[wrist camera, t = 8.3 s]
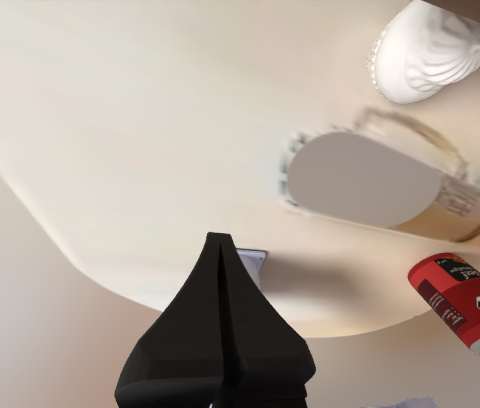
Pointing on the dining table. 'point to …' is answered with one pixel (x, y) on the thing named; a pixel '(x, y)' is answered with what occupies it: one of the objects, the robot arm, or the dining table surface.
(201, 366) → the robot arm
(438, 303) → the canned food
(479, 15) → the walnut shelf
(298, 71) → the dining table surface
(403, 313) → the dining table surface
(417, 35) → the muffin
